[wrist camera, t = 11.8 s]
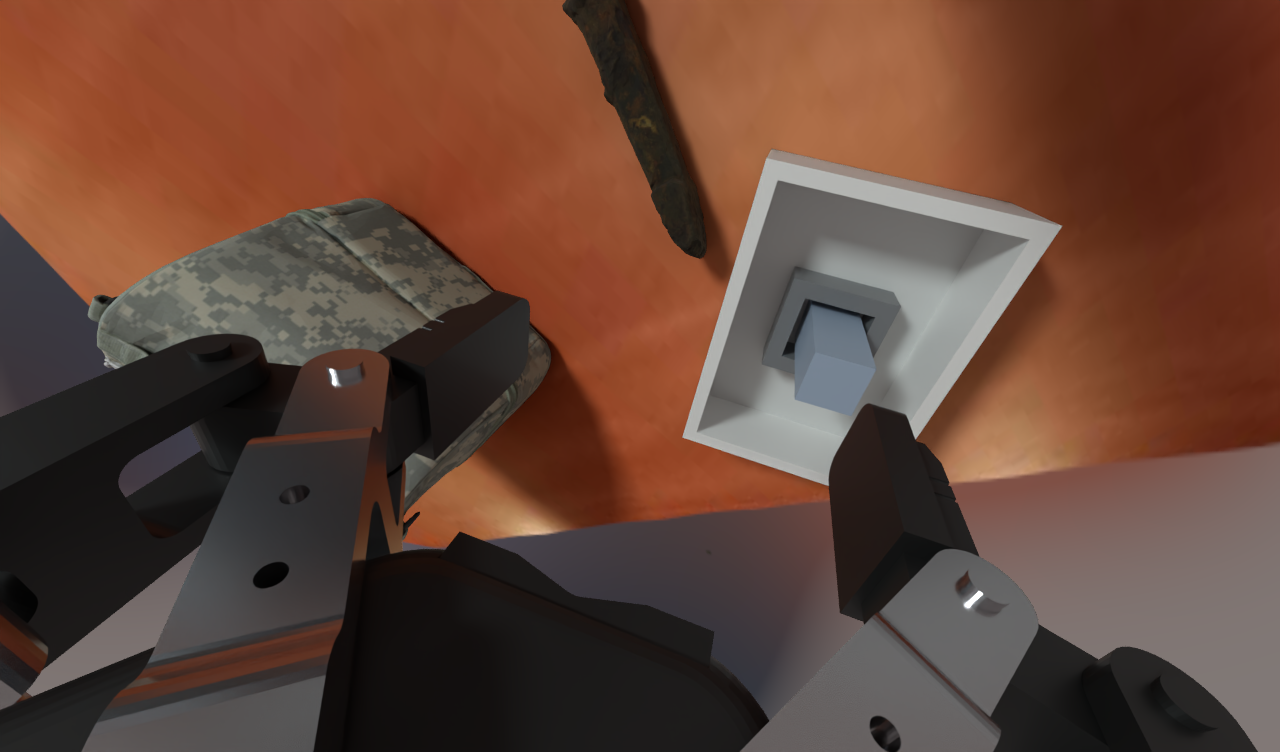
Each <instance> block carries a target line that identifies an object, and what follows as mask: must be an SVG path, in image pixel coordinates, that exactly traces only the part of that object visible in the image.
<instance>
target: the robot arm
mask: <svg viewBox="0 0 1280 752" xmlns="http://www.w3.org/2000/svg"><path fill="white" fill-rule="evenodd" d="M529 319H530V306H529V302H528V301H527V300H526V299H524V298H521V297H517V296H514V295H511V294H507V293H504V292H501V291H494V292H492V293H491V294H489V295H487V296H486V297H484V298H483V299H481V300H479V301H478V302H476V303H474V304H472V303H471V304H468V305H464V306H460V307H456V308H452V309H450V310H448V311H446V312H445V313H443V314H441V315H440V316H438V317H436V318H435V320H431V321H429V322H428V323H426V324H424V325H423V326H422V328H418V329H416V330H414V331H412V332H411V333H409V334H407V335H406V336H404V337H402V338H401V339H399V340H397V341H395V342H394V343H392V344H390V345H389V346H387V347H385V348H384V349H382V350H380V351H378V352H374V351H371V350H366V349H342V350H335V351H331V352H327V353H324V354H321V355H319V356H316V357H314V358H313V359H311V360H309V361H308V362H307V363H305V364H304V365H303V366H297V365H287V364H277V363H268V362H267V359H266V356H265V353H264V350H263V347H262V344H261V343H260V342H259V340H257V339H255V338H253V337H250V336H247V335H241V334H212V335H206V336H200V337H196V338H192V339H188V340H185V341H182V342H180V343H177V344H175V345H172V346H170V347H168V348H165V349H163V350H160V351H158V352H156V353H153V354H151V355H148V356H146V357H144V358H141V359H139V360H136V361H134V362H132V363H129V364H127V365H124V366H122V367H120V368H117V369H115V370H112V371H110V372H108V373H105V374H103V375H100V376H98V377H96V378H93V379H91V380H88V381H86V382H84V383H82V384H79V385H77V386H74V387H72V388H69V389H67V390H65V391H62V392H60V393H57V394H55V395H53V396H50V397H48V398H46V399H43V400H41V401H38V402H36V403H33V404H31V405H29V406H26V407H24V408H21V409H19V410H17V411H14V412H12V413H10V414H7V415H5V416H2V417H0V752H1258V751H1257V750H1256V748H1255V747H1254V745H1253V744H1252V742H1251V741H1250V739H1249V738H1248V736H1247V735H1246V733H1245V732H1244V730H1243V729H1242V728H1241V727H1240V725H1239V724H1238V722H1237V721H1236V720H1235V719H1234V718H1233V716H1232V715H1231V714H1230V713H1229V712H1228V711H1227V709H1226V708H1225V707H1224V706H1222V704H1221V703H1220V702H1219V701H1218V700H1217V699H1216V698H1215V697H1214V696H1212V695H1211V694H1210V693H1209V692H1208V691H1207V690H1206V689H1205V688H1204V687H1202V686H1201V685H1200V684H1199V683H1197V682H1196V681H1195V680H1194V679H1193V678H1191V677H1190V676H1188V675H1187V674H1186V673H1184V672H1183V671H1181V670H1180V669H1178V668H1177V667H1175V666H1174V665H1172V664H1170V663H1169V662H1167V661H1165V660H1163V659H1162V658H1160V657H1158V656H1156V655H1153V654H1151V653H1149V652H1147V651H1144V650H1141V649H1138V648H1132V647H1120V648H1116V649H1115V650H1113V651H1112V652H1110V653H1108V654H1107V655H1105V656H1104V657H1102V658H1101V659H1099V660H1098V659H1096V658H1095V657H1093V656H1092V655H1090V654H1088V653H1086V652H1085V651H1083V650H1081V649H1080V648H1078V647H1076V646H1075V645H1073V644H1071V643H1069V642H1068V641H1066V640H1064V639H1063V638H1061V637H1059V636H1057V635H1056V634H1054V633H1052V632H1050V631H1049V630H1047V629H1046V628H1044V627H1042V626H1041V625H1039V624H1038V618H1037V614H1036V612H1035V610H1034V607H1033V606H1032V604H1031V602H1030V601H1029V599H1028V598H1027V596H1026V595H1025V594H1024V592H1023V591H1022V590H1021V589H1020V588H1019V587H1018V585H1017V584H1016V583H1015V582H1014V581H1012V579H1010V578H1009V577H1008V576H1007V575H1006V574H1005V573H1003V572H1002V571H1001V570H1000V569H998V568H997V567H996V566H994V565H993V564H991V563H989V562H987V561H986V560H984V559H983V558H981V557H979V554H978V552H977V549H976V547H975V544H974V542H973V540H972V537H971V535H970V532H969V530H968V527H967V525H966V522H965V520H964V518H963V515H962V513H961V510H960V508H959V505H958V503H956V502H955V500H956V498H955V496H954V493H953V491H952V488H951V487H950V486H948V485H949V481H948V478H947V476H946V473H945V471H944V468H943V466H942V464H941V462H940V461H939V460H938V459H937V458H936V457H935V456H934V454H933V453H932V452H931V451H930V450H929V449H928V448H927V446H926V445H925V444H923V443H920V442H916V440H915V437H914V435H913V432H912V429H911V426H910V423H909V421H908V418H907V416H906V415H905V414H903V413H900V412H897V411H893V410H890V409H887V408H884V407H880V406H877V405H874V404H870V403H867V404H866V405H864V406H863V407H862V409H861V410H860V412H859V413H858V415H857V417H856V419H855V420H854V422H853V424H852V426H851V427H850V429H849V431H848V433H847V434H846V436H845V438H844V440H843V441H842V443H841V445H840V447H839V448H838V450H837V452H836V454H835V456H834V458H833V461H832V463H831V467H830V471H829V479H828V481H829V494H830V505H831V516H832V528H833V539H834V551H835V562H836V573H837V585H838V596H839V608H840V613H841V614H844V615H847V616H850V617H852V618H855V619H858V620H860V621H863V622H864V626H863V627H862V628H861V629H860V630H859V631H858V632H857V633H856V634H855V635H854V636H853V637H852V638H851V639H850V640H849V641H848V642H847V643H846V644H845V645H844V646H843V647H842V648H841V649H840V650H839V651H838V652H837V653H836V654H835V655H834V656H833V657H832V658H831V659H830V660H829V661H828V662H827V663H826V664H825V665H824V666H823V668H821V669H820V671H818V673H816V675H815V676H814V677H813V678H812V679H811V680H810V681H809V682H808V683H807V684H806V685H805V686H804V687H803V688H802V689H801V690H800V691H799V692H798V693H797V694H796V695H795V696H794V697H793V698H792V699H791V700H790V701H789V702H788V703H787V704H786V705H785V706H784V707H783V708H782V709H781V710H780V711H779V712H778V713H777V714H776V715H775V716H774V717H773V719H771V721H769V719H768V718H767V716H766V714H765V713H764V711H763V710H762V708H761V707H760V705H759V704H758V703H757V701H756V700H755V699H754V697H753V696H752V695H751V693H750V692H749V691H748V690H747V689H746V687H745V686H744V685H743V684H742V683H741V682H740V681H739V680H738V679H737V677H736V676H734V674H732V673H731V672H730V671H729V670H728V669H727V668H726V667H725V666H724V665H723V664H721V663H720V662H719V661H718V660H716V659H715V658H713V657H712V656H711V650H712V644H713V637H714V632H713V631H711V630H708V629H706V628H703V627H701V626H698V625H695V624H693V623H691V622H688V621H686V620H683V619H680V618H678V617H675V616H673V615H670V614H668V613H665V612H663V611H660V610H658V609H655V608H653V607H650V606H647V605H639V604H632V603H624V602H616V601H608V600H600V599H592V598H583V597H578V596H575V595H573V594H571V593H569V592H567V591H566V590H565V589H563V588H562V587H561V586H559V585H558V584H557V583H555V582H554V581H553V580H551V579H550V578H549V577H547V576H546V575H545V574H543V573H542V572H541V571H539V570H538V569H537V568H535V567H534V566H532V565H531V564H530V563H529V562H527V561H526V560H525V559H523V558H522V557H521V556H519V555H518V554H516V553H513V552H510V551H508V550H505V549H503V548H500V547H498V546H495V545H493V544H490V543H488V542H485V541H483V540H480V539H477V538H475V537H472V536H470V535H467V534H465V533H462V532H459V533H458V534H457V536H456V537H455V538H454V539H453V541H452V542H451V543H450V544H449V546H448V547H447V548H446V550H441V549H419V550H410V551H402V535H403V517H404V500H405V482H406V465H405V460H406V459H407V458H408V457H409V456H410V455H412V454H413V453H416V454H418V455H421V456H424V457H426V458H429V459H432V460H436V459H437V458H438V457H439V456H440V455H441V454H442V453H443V452H444V451H445V450H446V449H447V448H448V447H449V446H450V445H451V444H452V443H453V442H454V441H455V440H456V439H457V438H458V437H459V436H460V435H461V434H462V433H463V432H464V431H465V430H466V429H467V428H468V427H469V426H470V425H471V424H472V423H473V422H474V421H475V420H476V419H477V418H478V417H480V416H481V415H482V414H483V413H484V412H485V411H486V410H487V409H488V408H489V407H490V406H491V405H492V404H493V403H494V402H495V401H496V400H497V399H498V398H499V397H500V396H501V395H502V394H503V393H504V392H505V391H506V390H507V389H508V388H509V387H510V386H511V385H512V384H513V383H514V382H515V381H516V380H517V379H518V378H519V377H520V376H521V374H522V372H523V370H524V368H525V366H526V363H527V358H528V343H529ZM188 426H190V428H191V430H192V431H193V434H194V436H195V438H196V440H197V442H198V444H199V445H200V448H201V451H200V452H198V453H197V454H195V455H194V456H192V457H190V458H188V459H187V460H185V461H184V462H182V463H181V464H179V465H177V466H176V467H174V468H173V469H171V470H169V471H168V472H166V473H165V474H163V475H162V476H160V477H158V478H157V479H155V480H153V481H152V482H150V483H149V484H147V485H146V486H144V487H142V488H141V489H139V490H137V491H136V492H134V493H133V494H131V495H129V496H128V497H126V498H125V496H124V495H123V493H122V492H121V490H120V488H119V485H118V479H119V475H120V473H121V471H122V469H123V468H124V467H125V465H126V464H127V463H128V462H129V461H131V460H132V459H133V458H134V457H136V456H137V455H139V454H141V453H143V452H144V451H146V450H148V449H149V448H151V447H153V446H155V445H156V444H158V443H160V442H162V441H163V440H165V439H167V438H169V437H171V436H172V435H174V434H176V433H177V432H179V431H181V430H183V429H185V428H186V427H188ZM199 545H201V546H200V548H199V550H198V553H197V555H196V557H195V559H194V561H193V564H192V566H191V569H190V570H189V573H188V575H187V577H186V580H185V582H184V584H183V586H182V588H181V591H180V593H179V595H178V597H177V600H176V602H175V604H174V606H173V609H172V611H171V613H170V615H169V618H168V620H167V623H166V624H165V626H164V629H163V631H162V633H161V635H160V638H159V640H158V642H157V645H156V647H153V648H151V649H148V650H146V651H143V652H141V653H139V654H136V655H134V656H131V657H129V658H126V659H124V660H121V661H119V662H117V663H114V664H111V665H109V666H107V667H104V668H102V669H99V670H97V671H94V672H92V673H89V674H87V675H84V676H82V677H80V678H77V679H75V680H72V681H70V682H67V683H65V684H62V685H60V686H57V687H55V688H52V689H50V690H48V691H45V692H43V693H40V694H38V695H36V696H33V697H32V696H31V695H29V694H28V693H27V692H26V691H27V690H28V689H29V688H30V687H31V685H32V684H33V683H34V682H35V680H36V679H37V677H38V676H39V675H40V673H41V671H42V670H43V669H44V668H45V667H47V666H48V665H49V664H50V663H52V662H53V661H54V660H56V659H57V658H58V657H59V656H61V655H62V654H63V653H64V652H65V651H67V650H68V649H69V648H71V647H72V646H73V645H75V644H76V643H77V642H78V641H80V640H81V639H82V638H83V637H85V636H86V635H87V634H88V633H90V632H91V631H92V630H94V629H95V628H96V627H97V626H98V625H100V624H101V623H102V622H104V621H105V620H106V619H107V618H109V617H110V616H111V615H112V614H113V613H115V612H116V611H117V610H119V609H120V608H121V607H123V606H124V605H125V604H126V603H127V602H129V601H130V600H131V599H133V598H134V597H135V596H136V595H138V594H139V593H140V592H141V591H143V590H144V589H145V588H146V587H148V586H149V585H150V584H152V583H153V582H154V581H155V580H156V579H158V578H159V577H160V576H161V575H163V574H164V573H165V572H167V571H168V570H169V569H170V568H172V567H173V566H174V565H176V564H177V563H178V562H179V561H181V560H182V559H183V558H184V557H186V556H187V555H188V554H189V553H191V552H192V551H193V550H194V549H196V548H197V547H198V546H199Z"/></svg>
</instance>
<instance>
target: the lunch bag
mask: <svg viewBox="0 0 1280 752" xmlns="http://www.w3.org/2000/svg"><path fill="white" fill-rule="evenodd" d="M492 292H493V291H492V290H491V289H490V288H489V287H488V286H487V285H486V284H485V283H484V282H482V280H481V279H480V278H479V277H478V276H476V275H475V274H474V273H473V272H472V271H471V270H469V269H468V268H467V267H466V266H463V265H461V264H460V263H459V262H457V261H456V260H455V259H454V258H452V257H451V256H450V255H449V254H447V253H446V252H445V251H444V250H442V249H441V248H440V247H439V246H437V245H436V244H435V243H434V242H433V241H432V240H431V239H429V238H428V237H427V236H426V235H425V234H424V233H423V232H422V231H421V230H420V229H418V228H417V227H416V226H415V225H414V224H413V223H412V222H410V221H409V220H408V219H407V218H406V217H404V216H403V215H401V214H400V213H399V212H397V211H396V210H395V209H394V208H393V207H391V206H390V205H389V204H385V203H383V202H382V201H380V200H377V199H372V198H361V199H355V200H351V201H348V202H344V203H340V204H336V205H328V206H324V207H317V208H314V209H311V210H310V209H303V210H298V211H296V212H291V213H288V214H287V215H286V216H285V217H282V218H279V219H277V220H274V221H272V222H269V223H267V224H264V225H262V226H259V227H257V228H254V229H252V230H249V231H246V232H244V233H241V234H239V235H236V236H234V237H231V238H228V239H226V240H223V241H221V242H218V243H216V244H213V245H211V246H208V247H206V248H203V249H201V250H199V251H196V252H194V253H191V254H189V255H187V256H185V257H182V258H180V259H178V260H176V261H174V262H172V263H170V264H168V265H165V266H163V267H162V268H160V269H158V270H156V271H155V272H153V273H151V274H149V275H148V276H146V277H145V278H143V279H141V280H140V281H138V282H137V283H136V284H134V285H133V286H131V287H130V288H129V289H127V290H126V291H125V292H123V293H122V294H121V295H120V296H118V297H114V298H110V297H108V296H105V295H97V296H95V297H93V301H92V303H91V305H90V308H89V313H88V316H89V318H90V319H92V320H94V321H96V322H99V327H98V332H97V346H98V347H99V348H100V349H101V350H102V351H103V353H104V354H105V355H106V358H105V361H106V362H105V363H104V365H105V366H107V367H108V368H112V367H113V368H115V369H117V368H120V367H122V366H124V365H127V364H129V363H132V362H134V361H136V360H139V359H141V358H144V357H146V356H148V355H151V354H153V353H156V352H158V351H160V350H163V349H165V348H168V347H170V346H172V345H175V344H177V343H180V342H182V341H185V340H188V339H192V338H196V337H200V336H206V335H212V334H241V335H247V336H250V337H253V338H255V339H257V340H259V342H260V343H261V344H262V347H263V350H264V353H265V356H266V359H267V362H268V363H277V364H287V365H297V366H303V365H304V364H305V363H307V362H308V361H309V360H311V359H313V358H314V357H316V356H319V355H321V354H324V353H327V352H331V351H335V350H342V349H366V350H371V351H374V352H378V351H380V350H382V349H384V348H385V347H387V346H389V345H390V344H392V343H394V342H395V341H397V340H399V339H401V338H402V337H404V336H406V335H407V334H409V333H411V332H412V331H414V330H416V329H418V328H422V326H423V325H424V324H426V323H428V322H429V321H431V320H435V318H436V317H438V316H440V315H441V314H443V313H445V312H446V311H448V310H450V309H452V308H456V307H460V306H464V305H468V304H471V303H472V304H474V303H476V302H478V301H479V300H481V299H483V298H484V297H486V296H487V295H489V294H491V293H492ZM550 363H551V353H550V349H549V347H548V345H547V343H546V341H545V340H544V339H543V338H542V337H541V336H540V335H539V334H538V333H537V332H536V331H535V330H534V329H533V328H532V327H531V326H530V325H529V343H528V358H527V363H526V366H525V368H524V370H523V372H522V374H521V376H520V377H519V378H518V379H517V380H516V381H515V382H514V383H513V384H512V385H511V386H510V387H509V388H508V389H507V390H506V391H505V392H504V393H503V394H502V395H501V396H500V397H499V398H498V399H497V400H496V401H495V402H494V403H493V404H492V405H491V406H490V407H489V408H488V409H487V410H486V411H485V412H484V413H483V414H482V415H481V416H480V417H478V418H477V419H476V420H475V421H474V422H473V423H472V424H471V425H470V426H469V427H468V428H467V429H466V430H465V431H464V432H463V433H462V434H461V435H460V436H459V437H458V438H457V439H456V440H455V441H454V442H453V443H452V444H451V445H450V446H449V447H448V448H447V449H446V450H445V451H444V452H443V453H442V454H441V455H440V456H439V457H438V458H437V459H436V460H432V459H429V458H426V457H424V456H421V455H418V454H416V453H413V454H412V455H410V456H409V457H408V458H407V459H406V460H405V465H406V482H405V500H404V515H405V513H406V511H407V510H408V509H409V508H410V507H411V506H412V505H413V504H414V503H415V502H416V501H417V500H418V499H419V498H420V497H421V496H422V495H423V494H424V493H425V492H426V491H427V490H428V489H430V488H431V487H432V486H433V485H434V484H435V483H436V482H437V481H439V480H440V479H441V478H442V477H443V476H444V475H445V474H447V473H448V472H450V471H451V470H453V469H454V468H455V467H458V466H460V465H461V464H462V463H463V462H465V461H466V460H467V459H468V458H469V457H470V456H471V455H472V454H473V453H474V452H475V451H476V450H477V449H478V448H479V447H481V446H482V445H483V444H484V443H485V442H486V440H487V439H488V438H489V437H490V436H491V435H492V434H493V433H494V432H495V431H496V430H497V429H498V428H499V427H500V426H501V425H502V424H503V423H504V422H505V421H506V420H507V419H508V418H509V417H510V416H511V415H512V414H513V413H514V412H515V411H516V410H517V409H518V408H519V407H520V406H521V405H522V404H523V403H524V402H525V401H526V400H527V399H528V398H529V397H530V396H531V395H532V394H533V393H534V391H535V390H536V389H537V388H538V386H539V385H540V383H541V382H542V381H543V379H544V377H545V375H546V373H547V371H548V369H549V366H550ZM419 515H420V512H417V513H415V514H414V515H413V517H411V518H410V519H409V520H408V521H407V522H406V523H404V521H403V535H402V541H403V540H404V538H405V537H406V535H407V532H408V527H409V526H410V525H411V524H412V523H413V522H414V521H415V520H416V518H417V517H418V516H419ZM403 519H404V517H403Z"/></svg>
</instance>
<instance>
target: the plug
mask: <svg viewBox="0 0 1280 752" xmlns="http://www.w3.org/2000/svg"><path fill="white" fill-rule="evenodd" d="M875 371H876V366H875V363H874V359H873V356H872V353H871V350H870V346H869V343H868V340H867V337H866V333H865V330H864V327H863V324H862V320H861V317H860V314H859V313H857V312H854V311H850V310H846V309H843V308H839V307H835V306H832V305H828V304H824V303H821V302H817V301H813V300H810V299H809V301H808V303H807V306H806V308H805V311H804V313H803V316H802V318H801V321H800V323H799V326H798V328H797V331H796V333H795V400H798V401H801V402H804V403H808V404H811V405H815V406H818V407H821V408H825V409H828V410H832V411H835V412H838V413H842V414H845V415H848V416H852V414H853V412H854V410H855V408H856V406H857V405H858V403H859V401H860V399H861V397H862V395H863V393H864V392H865V390H866V388H867V386H868V384H869V382H870V380H871V379H872V377H873V375H874V373H875Z"/></svg>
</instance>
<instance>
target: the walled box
mask: <svg viewBox="0 0 1280 752" xmlns="http://www.w3.org/2000/svg"><path fill="white" fill-rule="evenodd" d="M1061 227H1062V226H1061V225H1059V224H1057V223H1054V222H1052V221H1050V220H1048V219H1046V218H1043V217H1041V216H1039V215H1037V214H1034V213H1032V212H1030V211H1028V210H1026V209H1023V208H1021V207H1019V206H1017V205H1014V204H1012V203H1009V202H1005V201H1000V200H996V199H992V198H987V197H983V196H978V195H974V194H969V193H965V192H961V191H956V190H952V189H947V188H943V187H939V186H934V185H930V184H925V183H921V182H916V181H912V180H908V179H903V178H899V177H894V176H890V175H886V174H881V173H877V172H872V171H868V170H864V169H859V168H855V167H850V166H846V165H841V164H837V163H833V162H828V161H824V160H819V159H815V158H811V157H806V156H802V155H797V154H793V153H788V152H784V151H780V150H775V149H771V151H770V153H769V155H768V156H767V158H766V162H765V165H764V168H763V172H762V175H761V178H760V182H759V185H758V188H757V192H756V195H755V198H754V202H753V205H752V208H751V212H750V215H749V218H748V221H747V225H746V228H745V231H744V235H743V238H742V241H741V245H740V248H739V251H738V255H737V258H736V261H735V265H734V268H733V271H732V275H731V278H730V281H729V284H728V288H727V291H726V294H725V298H724V301H723V304H722V308H721V311H720V314H719V318H718V321H717V324H716V328H715V331H714V334H713V338H712V341H711V344H710V347H709V351H708V354H707V357H706V361H705V364H704V367H703V371H702V374H701V377H700V381H699V384H698V387H697V391H696V394H695V397H694V401H693V404H692V407H691V411H690V414H689V417H688V420H687V424H686V427H685V430H684V434H683V438H686V439H689V440H692V441H695V442H698V443H701V444H704V445H707V446H710V447H713V448H716V449H719V450H722V451H725V452H728V453H731V454H734V455H737V456H740V457H743V458H746V459H749V460H752V461H755V462H758V463H761V464H764V465H767V466H770V467H773V468H776V469H779V470H782V471H785V472H788V473H791V474H794V475H797V476H800V477H803V478H806V479H809V480H812V481H815V482H818V483H821V484H824V485H827V486H829V481H828V479H829V471H830V467H831V463H832V461H833V458H834V456H835V454H836V452H837V450H838V448H839V447H840V445H841V443H842V441H843V440H844V438H845V436H846V434H847V433H848V431H849V429H850V427H851V426H852V424H853V422H854V420H855V419H856V417H857V415H858V413H859V412H860V410H861V409H862V407H863V406H864V405H866V404H867V403H870V404H874V405H877V406H880V407H884V408H887V409H890V410H893V411H897V412H900V413H903V414H905V415H906V416H907V418H908V421H909V423H910V426H911V429H912V432H913V435H914V437H915V440H916V438H917V437H918V435H919V434H920V433H921V431H922V430H923V428H924V427H925V425H926V424H927V422H928V421H929V419H930V418H931V417H932V415H933V414H934V412H935V411H936V409H937V408H938V406H939V405H940V403H941V402H942V401H943V399H944V398H945V396H946V395H947V393H948V392H949V390H950V389H951V387H952V386H953V385H954V383H955V382H956V380H957V379H958V377H959V376H960V374H961V373H962V371H963V370H964V369H965V367H966V366H967V364H968V363H969V361H970V360H971V358H972V357H973V355H974V354H975V353H976V351H977V350H978V348H979V347H980V345H981V344H982V342H983V341H984V339H985V338H986V337H987V335H988V334H989V332H990V331H991V329H992V328H993V326H994V325H995V323H996V322H997V321H998V319H999V318H1000V316H1001V315H1002V313H1003V312H1004V310H1005V309H1006V307H1007V306H1008V304H1009V303H1010V302H1011V300H1012V299H1013V297H1014V296H1015V294H1016V293H1017V291H1018V290H1019V288H1020V287H1021V286H1022V284H1023V283H1024V281H1025V280H1026V278H1027V277H1028V275H1029V274H1030V272H1031V271H1032V270H1033V268H1034V267H1035V265H1036V264H1037V262H1038V261H1039V259H1040V258H1041V256H1042V255H1043V254H1044V252H1045V251H1046V249H1047V248H1048V246H1049V245H1050V243H1051V242H1052V240H1053V239H1054V238H1055V236H1056V235H1057V233H1058V232H1059V230H1060V229H1061ZM809 299H810V300H813V301H817V302H821V303H824V304H828V305H832V306H835V307H839V308H843V309H846V310H850V311H854V312H857V313H859V314H860V317H861V320H862V324H863V327H864V330H865V333H866V337H867V340H868V343H869V346H870V350H871V353H872V356H873V359H874V363H875V366H876V371H875V373H874V375H873V377H872V379H871V380H870V382H869V384H868V386H867V388H866V390H865V392H864V393H863V395H862V397H861V399H860V401H859V403H858V405H857V406H856V408H855V410H854V412H853V414H852V416H848V415H845V414H842V413H838V412H835V411H832V410H828V409H825V408H821V407H818V406H815V405H811V404H808V403H804V402H801V401H798V400H795V333H796V331H797V328H798V326H799V323H800V321H801V318H802V316H803V313H804V311H805V308H806V306H807V303H808V301H809Z"/></svg>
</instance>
